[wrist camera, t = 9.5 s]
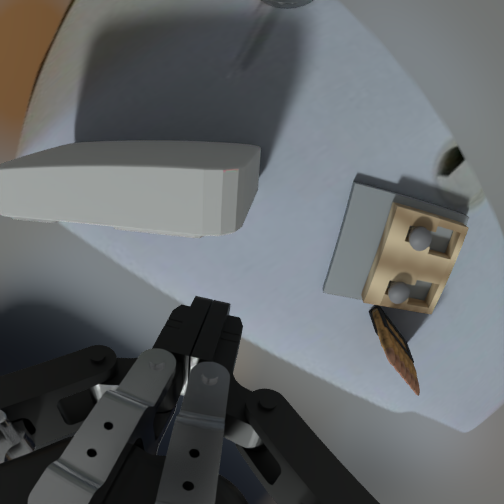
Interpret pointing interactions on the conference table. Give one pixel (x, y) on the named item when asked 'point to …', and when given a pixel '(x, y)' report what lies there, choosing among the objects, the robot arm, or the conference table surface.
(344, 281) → the board
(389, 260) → the beech panel
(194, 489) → the robot arm
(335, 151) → the conference table surface
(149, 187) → the rounded white slab
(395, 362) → the ammunition clip
